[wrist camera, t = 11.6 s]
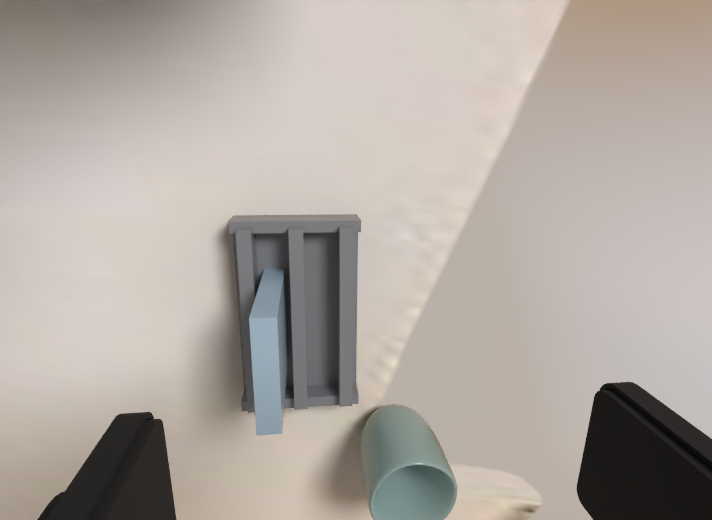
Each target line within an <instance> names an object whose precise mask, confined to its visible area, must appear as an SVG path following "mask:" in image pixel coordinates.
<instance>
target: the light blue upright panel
mask: <svg viewBox="0 0 712 520" xmlns="http://www.w3.org/2000/svg"><path fill="white" fill-rule="evenodd" d="M249 326H250V341H251V357H252V372H253V388H254V403H255V418H256V434H257V435H269V434H282V430H283V417H284V403H285V389H286V376H287V362H288V347H287V321H286V294H285V268H281V269H264V272H263V275H262V278H261V281H260V285H259V288H258V291H257V294H256V298H255V301H254V304H253V307H252V311H251V314H250V317H249Z"/></svg>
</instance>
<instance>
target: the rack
mask: <svg viewBox="0 0 712 520" xmlns="http://www.w3.org/2000/svg"><path fill="white" fill-rule="evenodd" d="M228 228H229V234H233V237H234V251H235V265H236V279H237V293H238V307H239V321H240V334H241V348H242V362H243V376H244V393H243V398H242V411H248V413H249V412H255V403H254V388H253V372H252V357H251V341H250V326H249V317H250V314H251V311H252V307H253V304H254V301H255V298H256V294H257V291H258V288H259V285H260V281H261V278H262V275H263V272H264V269H281V268H285V294H286V321H287V347H288V362H287V376H286V389H285V403H284V408H294V410H295V409H308V407H311V406H326V405H340V407H341V406H352V404H357V403H358V390H357V386H356V336H357V256H358V232H361V220H360V218H359V217H358V216H357V215H255V216H233V217H232V218H231V219H230V220H229V221H228Z"/></svg>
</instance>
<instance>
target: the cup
mask: <svg viewBox="0 0 712 520" xmlns="http://www.w3.org/2000/svg"><path fill="white" fill-rule="evenodd" d="M360 456H361V468H362V475H363V481H364V487H365V492H366V498H367V503H368V507H369V510H370V513H371V516H372V517H373V519H374V520H444V519H445V518H446V517H447V516H448V515H449V513H450V512H451V510H452V508H453V506H454V504H455V501H456V497H457V484H456V480H455V477H454V474H453V472H452V469H451V467H450V465H449V462H448V460H447V458H446V456H445V454H444V452H443V449H442V448H441V445H440V443H439V442H438V440H437V438H436V436H435V434H434V432H433V431H432V429H431V427H430V426H429V425H428V423H427V422H426V421H425V419H424V418H423V417H422V416H421V415H420V414H418V413H417V412H416V411H414V410H413V409H411V408H408V407H406V406H402V405H395V404H392V405H386V406H383V407H381V408H379V409H377V410H376V411H375V412H373V413H372V415H371V416H370V417H369V418H368V420H367V422H366V423H365V425H364V428H363V431H362V435H361V441H360Z"/></svg>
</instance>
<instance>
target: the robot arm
mask: <svg viewBox="0 0 712 520" xmlns="http://www.w3.org/2000/svg"><path fill="white" fill-rule="evenodd" d="M577 493H578V497H579V500H580V502H581V504H582V505H583V507H584V508H585V509H586V511H587V512H588V513H589V514H590V516H591V517H592V518H593V520H712V439H710V438H709V437H708V436H707V435H705V434H704V433H702V432H701V431H700V430H698V429H697V428H696V427H694V426H693V425H692V424H690V423H689V422H687V421H686V420H685V419H683V418H682V417H681V416H679V415H678V414H677V413H675V412H674V411H672V410H671V409H670V408H668V407H667V406H666V405H664V404H663V403H661V402H660V401H659V400H657V399H656V398H655V397H653V396H652V395H650V394H649V393H648V392H646V391H645V390H644V389H642V388H641V387H639V386H638V385H636V384H634V383H632V382H621V383H607V384H604V385H603V386H602V387H601V388H600V391H598V392H597V393H596V394H595V397H594V402H593V407H592V412H591V417H590V422H589V427H588V433H587V437H586V442H585V448H584V452H583V458H582V463H581V468H580V473H579V478H578V483H577ZM38 520H176V515H175V507H174V500H173V493H172V485H171V478H170V471H169V463H168V456H167V449H166V441H165V434H164V427H163V422H162V420H161V419H154V417H153V415H152V413H150V412H142V413H126V414H119V415H117V416H116V418H115V419H114V420H113V422H112V423H111V425H110V426H109V428H108V429H107V431H106V432H105V433H104V435H103V436H102V438H101V439H100V441H99V442H98V444H97V445H96V447H95V448H94V450H93V451H92V453H91V454H90V455H89V457H88V458H87V460H86V461H85V463H84V464H83V466H82V467H81V469H80V470H79V472H78V473H77V475H76V476H75V478H74V479H73V480H72V482H71V483H70V485H69V486H68V488H67V489H66V491H65V492H62V493H60V494H58V495H57V496H55V497H54V498H53V500H52V501H51V502H50V503H49V504H48V505H47V507H46V508H45V510H44V511H43V513H42V514H41V515H40V517H39V518H38Z"/></svg>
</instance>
